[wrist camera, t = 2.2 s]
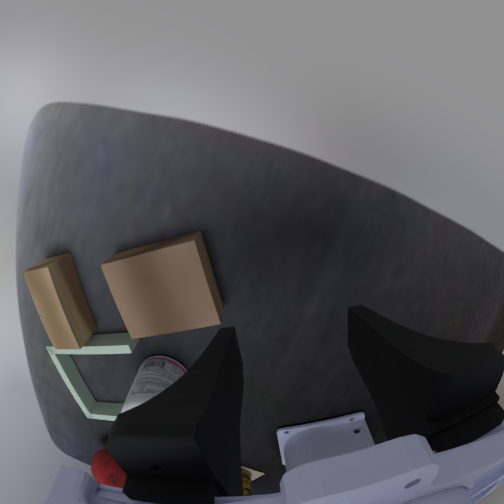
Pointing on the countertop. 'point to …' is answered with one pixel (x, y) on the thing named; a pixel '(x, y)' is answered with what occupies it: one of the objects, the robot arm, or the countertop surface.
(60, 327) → the block
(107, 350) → the corral
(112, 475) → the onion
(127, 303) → the tan cardboard block
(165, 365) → the pill bottle
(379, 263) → the countertop surface
